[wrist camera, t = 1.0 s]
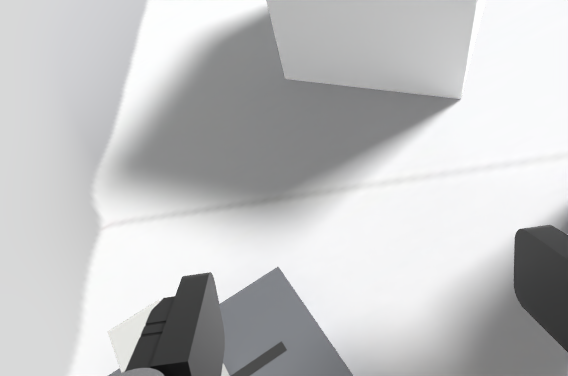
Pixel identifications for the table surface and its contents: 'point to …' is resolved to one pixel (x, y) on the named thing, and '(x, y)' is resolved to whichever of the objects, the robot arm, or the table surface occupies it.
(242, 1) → the table surface
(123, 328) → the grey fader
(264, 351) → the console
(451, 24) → the cube
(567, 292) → the robot arm
